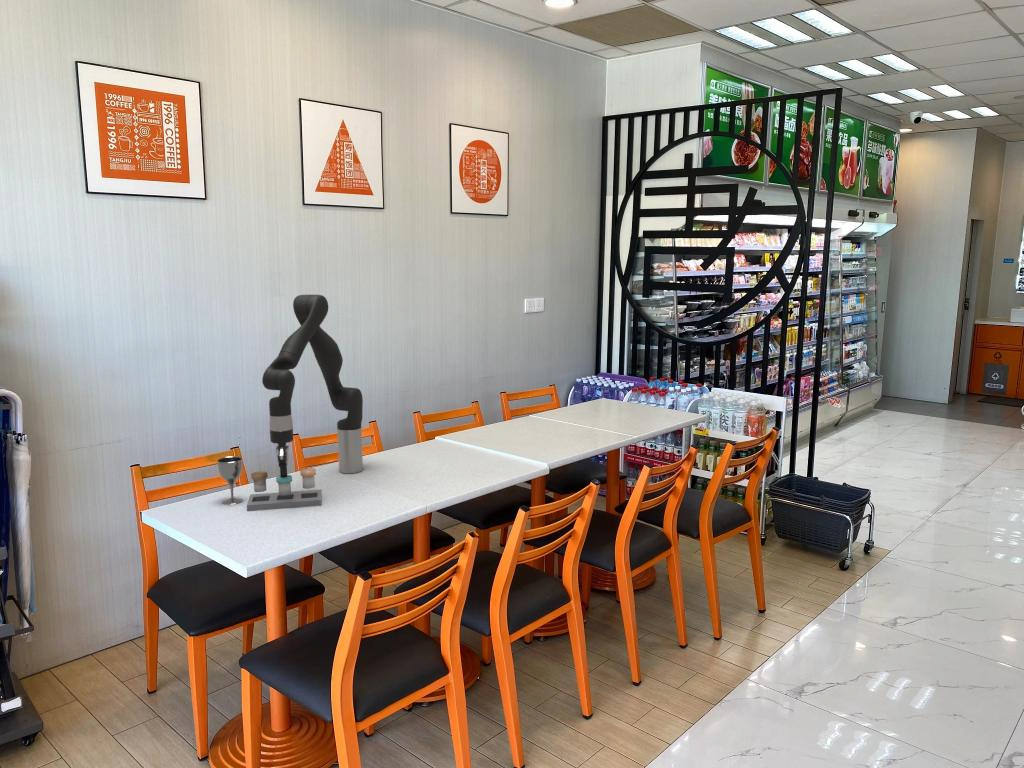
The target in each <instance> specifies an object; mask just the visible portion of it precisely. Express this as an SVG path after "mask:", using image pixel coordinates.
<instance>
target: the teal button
mask: <svg viewBox="0 0 1024 768" xmlns="http://www.w3.org/2000/svg"><path fill="white" fill-rule="evenodd" d="M275 478H276V479H275V480H276V483H277V484H278V485H277V486H278V492H279V495H281V496H286V495H290V494H291V492H292V489H291V488H292V486H291V484H292V483H291V482H293V475H290V474H287V477H285V478H281V477H280V475H277V476H276V477H275Z"/></svg>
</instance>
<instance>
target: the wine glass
mask: <svg viewBox="0 0 1024 768" xmlns="http://www.w3.org/2000/svg"><path fill="white" fill-rule="evenodd" d="M216 463H217V469H218V473H219V476H220V477H221V478H222V479H223V480H224V481H225V482H226V483H227V484H228V486H229V489H230V490H229V491H230V498H225V499H224V500H222V501H221V504H223V505H228V506H229V505H230V506H231V505H237V504H241V503H243V502H244V499H243V498H240V497H234V488H235V487H234V486H235V483H236V482H237V480H238V479H239V478H240V476H241V474H242V470H243V458H242V457H241V456H231V455H230V456H224V457H220V458H217V462H216Z"/></svg>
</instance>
